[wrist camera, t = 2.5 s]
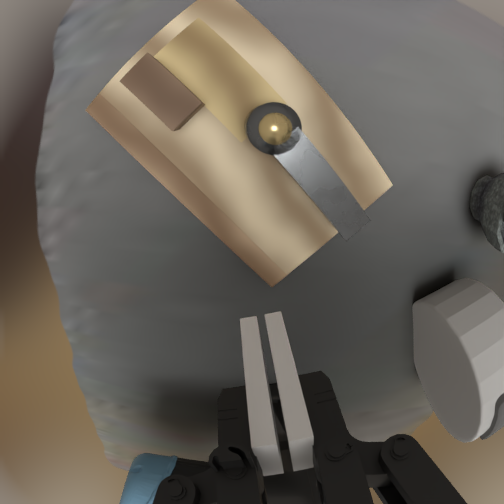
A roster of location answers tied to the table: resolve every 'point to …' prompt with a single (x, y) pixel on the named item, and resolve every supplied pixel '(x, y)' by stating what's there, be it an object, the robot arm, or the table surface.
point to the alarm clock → (462, 357)
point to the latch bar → (304, 165)
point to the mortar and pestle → (490, 208)
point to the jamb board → (233, 133)
